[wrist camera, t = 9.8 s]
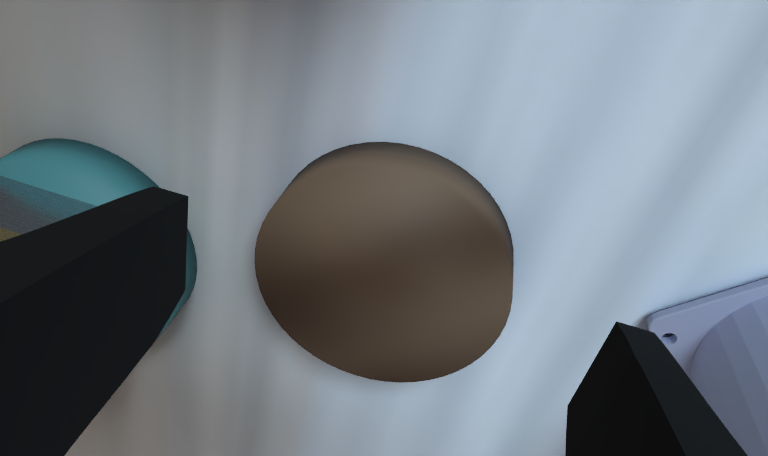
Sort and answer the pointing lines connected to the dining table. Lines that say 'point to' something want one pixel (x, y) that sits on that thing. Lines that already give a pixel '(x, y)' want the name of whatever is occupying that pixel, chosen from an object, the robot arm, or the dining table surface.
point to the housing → (32, 208)
